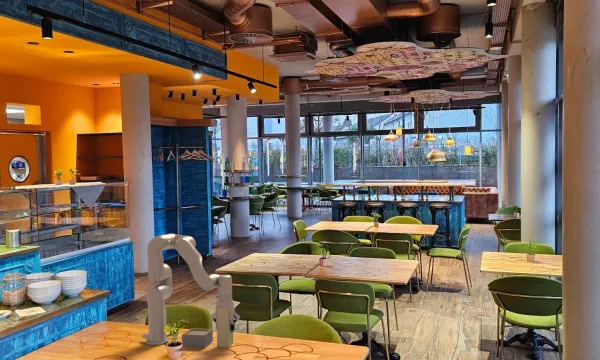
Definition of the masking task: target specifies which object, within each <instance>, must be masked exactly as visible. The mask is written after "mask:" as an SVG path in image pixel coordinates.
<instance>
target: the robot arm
mask: <svg viewBox="0 0 600 360" xmlns="http://www.w3.org/2000/svg"><path fill="white" fill-rule="evenodd" d="M148 242H149V243H147V248H146V253H147V272H148V274H147V276H148V277H147V278H148V280H149V281H150V282H151V283H154V284H155V285H153V286H150V287H149V288H148V290H147V291H146V303H147V314H148V316H147V317H148V319H147V321H148V323H147V324H148V329H147V330H148V333H143V334H142V336H141V337H142V339H146V340H145V344H146V345H149V346H160V345H165V344H167V343H166V342H168V341H169V342H170V339H169V338H168V337H167V331H166V332H164V326H165V325H166V326H167V310H166V309H167V306H166V303H165V300H167V299H169V298H170V297H171V295H172V294H173V272H172V269H171V266H170V265H168V264H167V263H164V255H163V251H166V250H170V249H174V250H176V252H178V253H179V256H181V258H182V259H183V260H184V261H185V262H186V264H187V265H188V267H189V271H190V272H191V275H192V277H193V279H194V281H195V282H196V283H197V284H198V286H199V287H200V288H201V289H202V290H204V291H208V292H209V291H211V290H213V289H216V288H217V295H216V296H215V299H217V300H216V302H215V311H214V312H213V313H212V314H211V315H210V318H211V319H212V320H213V322H214V323H215V324H216V327H215V329H216V330H217V308H229V320H230V321H231V323H232V324H231V332H233V333H234V330H235V327H236V325H235V324H236V323H237V322H238V320H239V319H240V318H241V316H240V315H239V314H238V313H237V312H236V311H235V304H234V303H235V302H234V300H233V279H232V276H231V275H230V274H216V273H211V274H208V273H207V272H206V270H205V269H204V267H203V263H202V262H203V257H202V255H201V253H200V252H199V251H198V250H197V248H196V246H197V243H196V240H195V238H194V237H192V236H190V235H181V234H176V233H167V234H160V235H157V236H155V237H153V238H152V239H151V240H149V241H148ZM169 342H168V343H169ZM164 343H165V344H164Z"/></svg>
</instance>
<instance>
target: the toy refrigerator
mask: <svg viewBox="0 0 600 360" xmlns="http://www.w3.org/2000/svg"><path fill="white" fill-rule="evenodd" d="M231 324H232V323H231V321H230V320H229V308H217V329H216V347H218V348H230V347H231V346H232V345H233V344H234V331H233V332H231Z"/></svg>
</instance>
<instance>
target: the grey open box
mask: <svg viewBox="0 0 600 360" xmlns="http://www.w3.org/2000/svg"><path fill="white" fill-rule="evenodd" d="M213 332H214V331H213V329H210V328H189V329H188V330H186V331H185V332H183V333H182V334H181V345H182V344H183V347H182V348H194V349H195V348H196V349H198V348H199V349H206V348H207V347H209V345H211V343H213V342H214V339H213V338H214V333H213Z"/></svg>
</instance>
